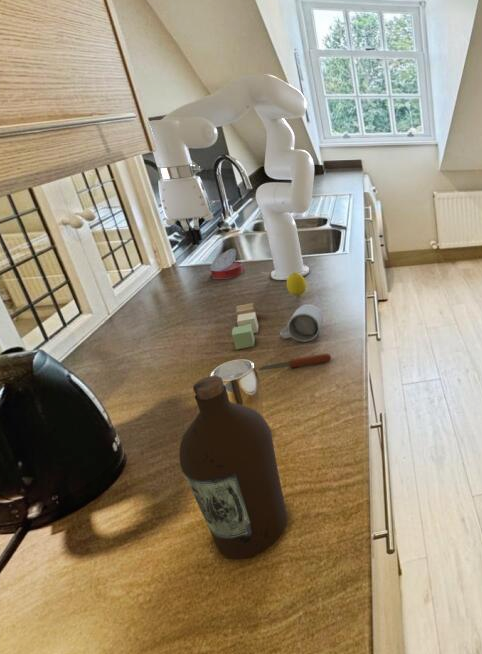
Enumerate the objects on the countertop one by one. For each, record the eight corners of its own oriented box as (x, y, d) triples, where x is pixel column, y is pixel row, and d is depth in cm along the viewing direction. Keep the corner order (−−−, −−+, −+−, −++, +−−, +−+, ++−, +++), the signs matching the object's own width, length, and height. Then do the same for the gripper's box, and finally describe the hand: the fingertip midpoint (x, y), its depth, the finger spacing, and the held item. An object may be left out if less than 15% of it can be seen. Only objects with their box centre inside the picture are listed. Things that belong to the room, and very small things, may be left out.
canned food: (242, 287, 161) (237, 268, 154) (211, 287, 158) (204, 268, 151) (245, 263, 168) (240, 244, 160) (215, 264, 165) (209, 244, 158)
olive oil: (241, 494, 70) (198, 356, 60) (305, 502, 69) (271, 361, 59) (193, 559, 61) (133, 407, 51) (266, 569, 59) (218, 414, 49)
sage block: (236, 342, 115) (232, 327, 113) (254, 338, 116) (250, 324, 115) (235, 349, 111) (231, 334, 110) (254, 346, 113) (250, 331, 111)
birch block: (240, 319, 127) (236, 305, 125) (256, 316, 128) (253, 302, 127) (239, 325, 123) (236, 311, 122) (256, 322, 125) (253, 308, 123)
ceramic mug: (325, 325, 121) (320, 299, 118) (321, 340, 114) (316, 313, 111) (285, 330, 120) (278, 303, 117) (278, 345, 113) (271, 318, 110)
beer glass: (225, 440, 82) (203, 370, 76) (263, 421, 86) (245, 353, 80) (239, 460, 77) (217, 387, 71) (279, 439, 81) (261, 368, 75)
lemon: (310, 293, 142) (306, 269, 139) (303, 300, 137) (298, 276, 134) (294, 292, 143) (289, 269, 140) (286, 300, 138) (280, 276, 134)
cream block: (241, 328, 122) (238, 314, 120) (258, 325, 123) (255, 311, 121) (240, 335, 118) (236, 321, 116) (257, 332, 119) (254, 318, 118)
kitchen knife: (331, 359, 106) (329, 351, 105) (331, 362, 105) (330, 354, 104) (259, 371, 102) (257, 364, 101) (258, 375, 101) (256, 367, 100)
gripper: (212, 168, 117) (229, 236, 125) (146, 173, 113) (167, 243, 120) (208, 172, 111) (226, 243, 118) (138, 178, 106) (161, 251, 114)
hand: (196, 243), depth 119 cm, fingers closed
